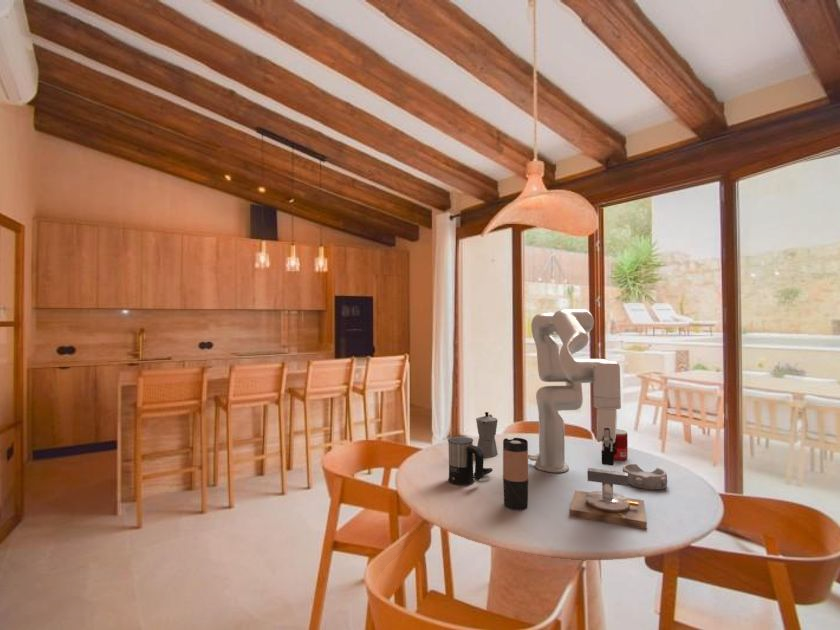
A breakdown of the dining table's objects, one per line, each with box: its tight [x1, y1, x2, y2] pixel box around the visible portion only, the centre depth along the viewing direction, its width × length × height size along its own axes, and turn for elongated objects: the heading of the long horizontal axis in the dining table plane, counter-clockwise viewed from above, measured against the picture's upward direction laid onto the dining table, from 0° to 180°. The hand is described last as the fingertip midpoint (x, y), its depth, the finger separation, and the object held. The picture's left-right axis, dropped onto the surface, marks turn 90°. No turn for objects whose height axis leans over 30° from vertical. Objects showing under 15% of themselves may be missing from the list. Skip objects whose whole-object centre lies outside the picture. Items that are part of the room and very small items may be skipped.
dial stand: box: [569, 489, 648, 530], centre depth 133 cm, size 20×16×2 cm
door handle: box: [586, 467, 638, 512], centre depth 132 cm, size 14×12×10 cm
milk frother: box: [447, 436, 493, 486], centre depth 160 cm, size 14×16×15 cm
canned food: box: [614, 428, 629, 461], centre depth 185 cm, size 8×8×11 cm
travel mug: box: [502, 437, 529, 511], centre depth 137 cm, size 8×8×20 cm
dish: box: [622, 463, 668, 490], centre depth 156 cm, size 14×14×5 cm
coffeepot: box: [475, 411, 498, 458], centre depth 192 cm, size 15×9×18 cm, turn 159°
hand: (608, 460), depth 132 cm, fingers open, 9 cm apart
